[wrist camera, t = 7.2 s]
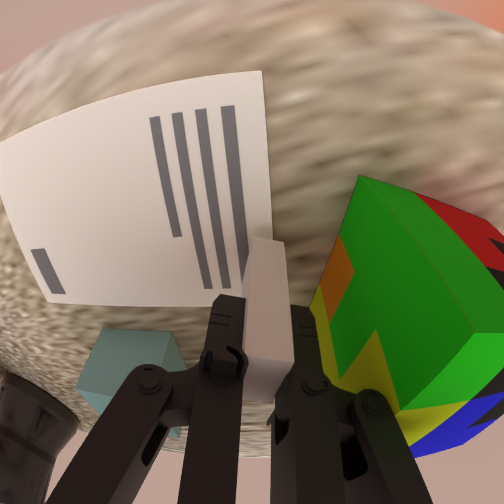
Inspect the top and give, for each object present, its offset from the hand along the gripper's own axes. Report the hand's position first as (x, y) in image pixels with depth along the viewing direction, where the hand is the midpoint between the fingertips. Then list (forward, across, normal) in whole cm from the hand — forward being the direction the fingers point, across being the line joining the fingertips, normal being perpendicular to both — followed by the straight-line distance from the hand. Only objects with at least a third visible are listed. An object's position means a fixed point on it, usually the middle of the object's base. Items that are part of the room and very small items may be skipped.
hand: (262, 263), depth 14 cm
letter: (+2, +9, 0) cm, 9 cm away
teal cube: (+2, +7, +12) cm, 14 cm away
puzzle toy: (+2, -9, 0) cm, 9 cm away
